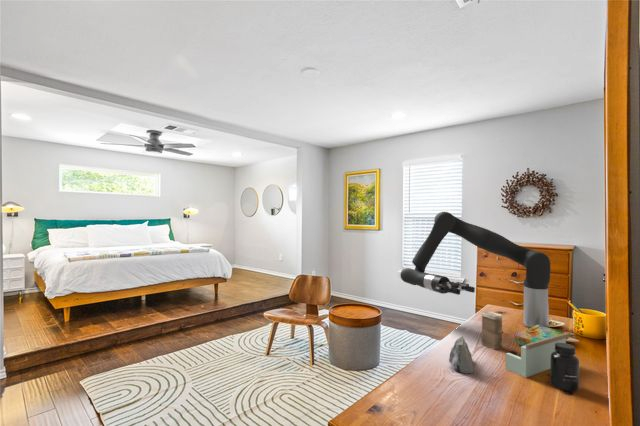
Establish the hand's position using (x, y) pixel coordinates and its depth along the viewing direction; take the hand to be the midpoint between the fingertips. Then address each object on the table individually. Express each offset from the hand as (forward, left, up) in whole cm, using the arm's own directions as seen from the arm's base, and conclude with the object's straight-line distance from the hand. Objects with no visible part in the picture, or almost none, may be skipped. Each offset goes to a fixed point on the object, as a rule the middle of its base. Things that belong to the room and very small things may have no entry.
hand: (467, 291), depth 138 cm
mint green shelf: (+2, +28, -18) cm, 34 cm away
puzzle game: (-20, +18, -19) cm, 33 cm away
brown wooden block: (0, +11, -18) cm, 22 cm away
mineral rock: (+23, +17, -19) cm, 34 cm away
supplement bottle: (+8, +40, -19) cm, 45 cm away
